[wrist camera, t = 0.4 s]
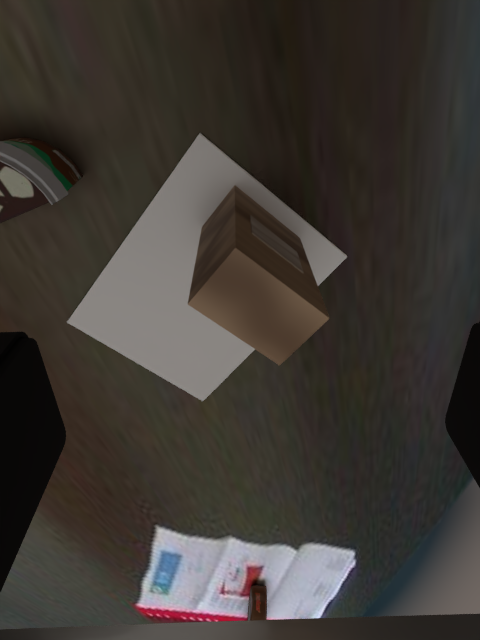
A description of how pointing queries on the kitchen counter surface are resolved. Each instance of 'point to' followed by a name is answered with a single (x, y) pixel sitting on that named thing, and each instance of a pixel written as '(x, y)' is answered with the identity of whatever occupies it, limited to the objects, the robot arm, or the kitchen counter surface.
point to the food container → (32, 175)
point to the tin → (257, 603)
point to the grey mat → (182, 276)
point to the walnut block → (256, 279)
